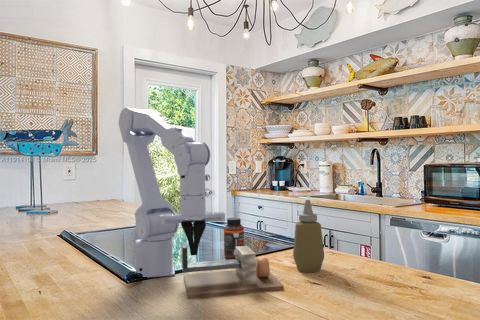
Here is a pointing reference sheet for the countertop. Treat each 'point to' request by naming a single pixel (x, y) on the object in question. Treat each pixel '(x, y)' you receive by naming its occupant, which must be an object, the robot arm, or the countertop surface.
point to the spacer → (262, 267)
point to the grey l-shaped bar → (206, 263)
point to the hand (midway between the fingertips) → (193, 254)
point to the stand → (231, 279)
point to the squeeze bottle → (308, 241)
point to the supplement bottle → (233, 237)
